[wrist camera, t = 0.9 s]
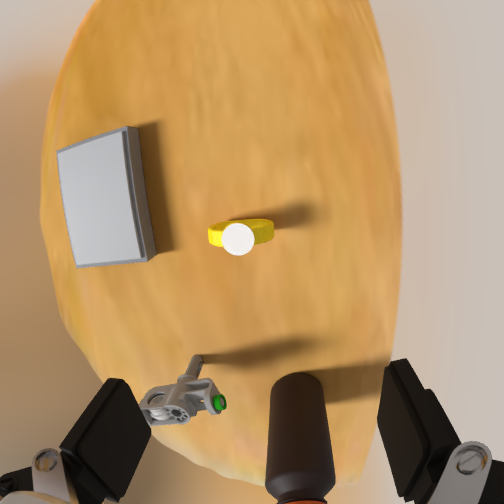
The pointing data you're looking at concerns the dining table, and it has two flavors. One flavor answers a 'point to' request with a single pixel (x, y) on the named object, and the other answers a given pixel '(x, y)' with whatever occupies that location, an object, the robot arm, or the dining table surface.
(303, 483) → the bottle
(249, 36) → the dining table surface
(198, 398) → the mechanical component
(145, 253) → the stand
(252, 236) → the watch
